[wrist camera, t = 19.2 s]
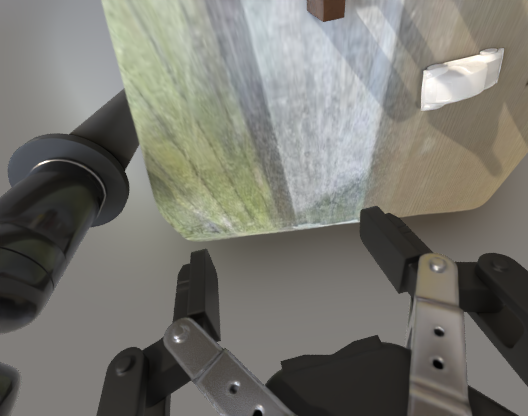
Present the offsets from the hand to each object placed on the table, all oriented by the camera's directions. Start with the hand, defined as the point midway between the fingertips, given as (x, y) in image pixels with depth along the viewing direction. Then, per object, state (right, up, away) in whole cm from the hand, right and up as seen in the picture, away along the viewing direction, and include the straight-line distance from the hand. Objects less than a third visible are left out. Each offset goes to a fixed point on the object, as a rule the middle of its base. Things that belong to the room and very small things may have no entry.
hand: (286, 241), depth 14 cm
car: (+28, +22, +28) cm, 45 cm away
